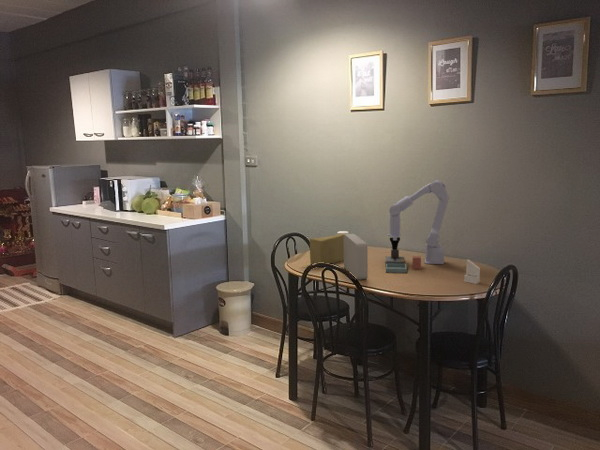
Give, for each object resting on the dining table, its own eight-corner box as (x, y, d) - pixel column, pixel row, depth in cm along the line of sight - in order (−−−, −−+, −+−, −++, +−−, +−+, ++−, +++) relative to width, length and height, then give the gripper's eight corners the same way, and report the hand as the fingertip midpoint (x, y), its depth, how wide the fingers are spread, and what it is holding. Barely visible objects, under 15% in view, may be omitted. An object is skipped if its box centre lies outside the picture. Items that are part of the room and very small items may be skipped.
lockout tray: (405, 267, 263) (405, 263, 263) (406, 272, 253) (406, 268, 253) (386, 267, 265) (386, 263, 264) (385, 272, 255) (385, 268, 254)
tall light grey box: (372, 280, 242) (372, 243, 239) (356, 281, 241) (356, 244, 238) (357, 265, 270) (357, 232, 267) (343, 266, 269) (343, 233, 266)
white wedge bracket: (459, 273, 241) (468, 259, 236) (476, 286, 236) (485, 272, 231) (455, 274, 238) (464, 260, 234) (472, 288, 233) (482, 274, 229)
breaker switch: (398, 256, 274) (398, 249, 273) (398, 258, 271) (398, 250, 270) (391, 256, 274) (391, 249, 274) (391, 257, 271) (391, 250, 271)
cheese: (340, 258, 288) (339, 232, 285) (351, 261, 280) (351, 234, 278) (309, 264, 275) (308, 237, 272) (320, 268, 267) (320, 240, 265)
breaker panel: (404, 262, 275) (404, 255, 274) (404, 267, 264) (404, 260, 263) (385, 261, 276) (385, 255, 276) (385, 266, 266) (385, 260, 265)
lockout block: (420, 267, 263) (420, 256, 262) (420, 269, 259) (420, 258, 258) (412, 267, 264) (412, 256, 263) (412, 269, 260) (412, 257, 259)
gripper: (387, 224, 283) (387, 247, 286) (387, 228, 269) (387, 253, 272) (400, 224, 282) (400, 247, 284) (400, 228, 268) (400, 253, 270)
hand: (394, 250), depth 278 cm, fingers closed
